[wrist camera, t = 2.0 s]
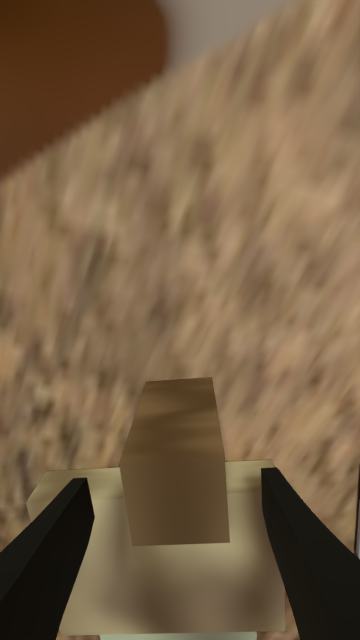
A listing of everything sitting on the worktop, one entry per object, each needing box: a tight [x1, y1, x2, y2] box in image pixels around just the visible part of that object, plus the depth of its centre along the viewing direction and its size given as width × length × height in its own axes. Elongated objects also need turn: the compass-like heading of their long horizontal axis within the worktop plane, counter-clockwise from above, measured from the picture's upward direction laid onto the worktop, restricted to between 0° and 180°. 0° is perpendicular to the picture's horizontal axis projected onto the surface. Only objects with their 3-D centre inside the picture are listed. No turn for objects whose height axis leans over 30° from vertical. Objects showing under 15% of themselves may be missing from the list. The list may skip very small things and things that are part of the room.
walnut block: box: [119, 377, 230, 546], centre depth 15 cm, size 4×4×7 cm
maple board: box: [26, 460, 285, 635], centre depth 19 cm, size 15×11×2 cm
